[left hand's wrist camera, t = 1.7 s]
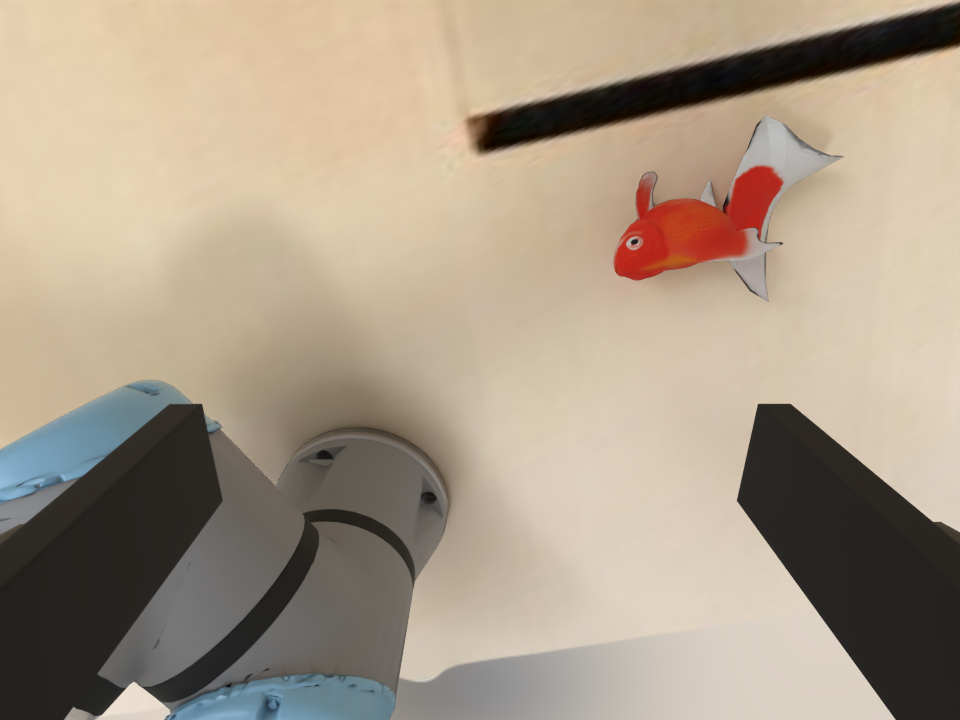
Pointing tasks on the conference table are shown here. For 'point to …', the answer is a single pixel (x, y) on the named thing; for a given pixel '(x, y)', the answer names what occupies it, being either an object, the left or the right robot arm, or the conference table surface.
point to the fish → (720, 213)
